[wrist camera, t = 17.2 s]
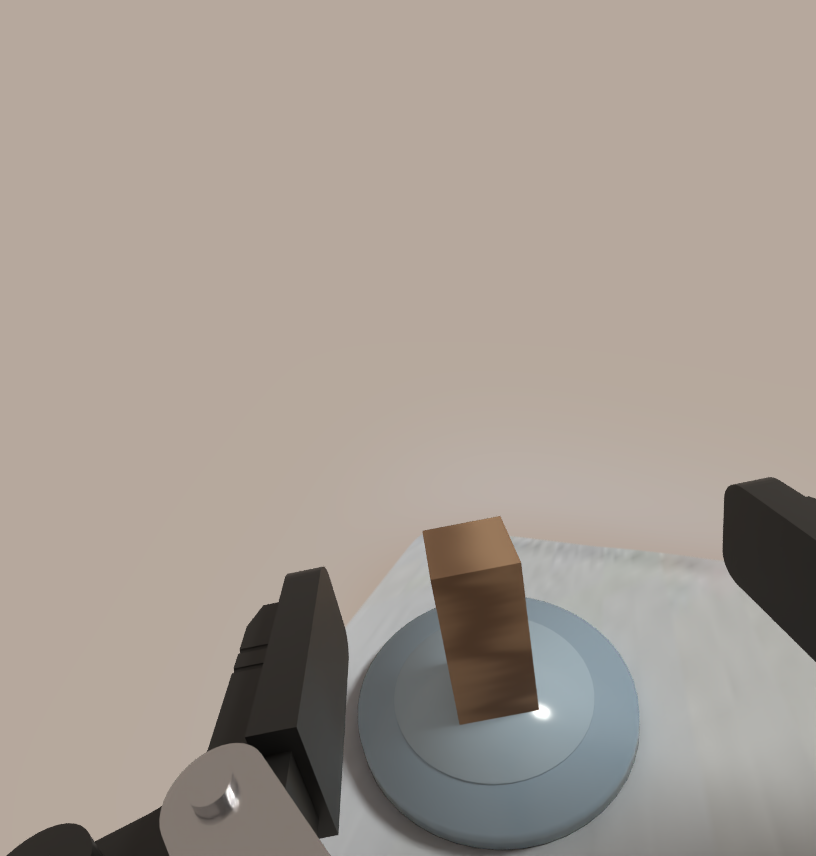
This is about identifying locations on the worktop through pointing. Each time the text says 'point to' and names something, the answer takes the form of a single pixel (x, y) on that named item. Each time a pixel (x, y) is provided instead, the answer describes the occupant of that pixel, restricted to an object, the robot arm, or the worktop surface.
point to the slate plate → (501, 736)
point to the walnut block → (482, 619)
